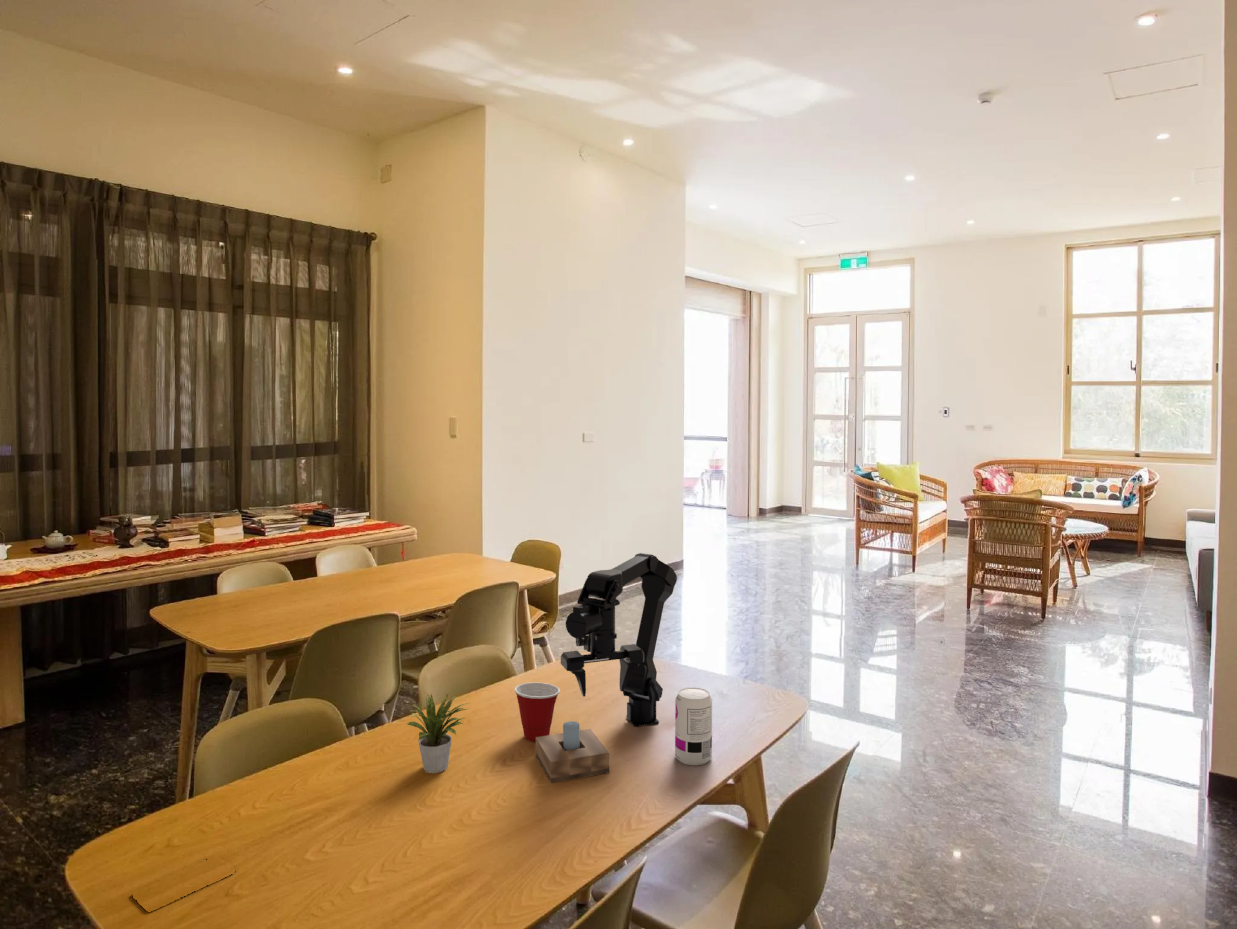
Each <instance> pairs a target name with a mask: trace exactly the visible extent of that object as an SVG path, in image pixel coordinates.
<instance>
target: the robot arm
mask: <svg viewBox="0 0 1237 929" xmlns="http://www.w3.org/2000/svg"><path fill="white" fill-rule="evenodd" d="M638 578H639V579H640V580H641V590H642V593H643V596H644V604H643V607H642V608H643V609H642V613H641V619H640V621H639V628H638V632H637V637H636V641H635V643H632V644H622V645H621V646H620V647H619V650H616V639H618V638H617V637H618V634H617V633H616V607H617V606H619V605H620V604H621V602H620V601H619V600H618V599H617V597H618V596H620V595H621V594H622V593H623V590H624V589H623V588H624V587H625V586H627V585H628V584H629V583H631V582H633V581H634V580H637V579H638ZM677 580H678V577H677V573H676V572H675V570H674V568H672V567H671V566H670V565H668V564H667V563H665V562H663V561H662V560H660V559H658V557H657V556H656V555H654V554H651V553H642V552H640V553H639V552H638V553H636V554H635V555H634V556H633V557H631V558H630V559H628V560H626V561H624V562H622V563H621V564H620V563H619V564H618V565H617V566H614V567H612V568H610V569H603V570H602V569H601V570H596V571H592V572H590V573H589V574H588V575H587V577H586V579H585V581H584V584H583V587H582V589H581V591H580V594H579V596H578V598H577V602H576V603H577V605H575V606H573V607H572V612H571V613H569V614H568V615H567V617H566V620H565V628H566V629H565V630H566V631H567V633H568V635H570V636H571V637H572V638H575V645H576V647H583V650H584V651H586V652H588V653H587V654H581V653H580V652H579V651H578V650H570V651H564V652H562V653H561V655H560V665H561V666H562V667H563V668H564V669H565V670H566V671H567V672H570V673H571V674H572V675H574V676H575V678H576V681H577V685H578V686H579V690H580V692H581V695H582V696H583V697H586V693H587V684H586V683H587V681H586V680H587V679H586V677H587V676H586V675H587V674H586V670H585V669H584V667H585V664H591V663H598V662H599V663H600V662H606V661H614V660H615V661H616V660H618V661H619V666H620V671H619V691H620V692H621V693H622V694H623V695H622V696H624V697H628V702H627V703H626V719H627V720H628V721H629V722H630V724H632V725H633V727H635V728H636V727H645V726H650V725H656V724H657V725H658V724H659V723H660V720H658V719H657V702H659V701H661V698H662V696H663V687H662V685H660V683H659V682H658V681H657V673H658V671H657V669H656V664H655V663H654V656H655V652H656V651H655V650H656V645H657V641H658V635H659V631H660V627H661V620H662V615H663V611H664V606H665V602H666V601H667V600H668V599H669V598H670V597H671V596H672V595H673V593H674V589H675V586H676V584H677Z"/></svg>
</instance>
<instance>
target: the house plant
mask: <svg viewBox="0 0 1237 929" xmlns="http://www.w3.org/2000/svg"><path fill="white" fill-rule="evenodd" d="M457 696H458V695H457V694H456V695H454V696H452V697H451V698H450V699H448V697H449V693H447V695H446V696H445V697H444V698H443V700H442V701H441V703H440V704H439V707H438V708H437V711H436V704H435V702H434V697H433V695H432V694H429V693H426V699H425V700H426V707H425V706H423V708H424V709H425V710H426V715H425V713H424V712H423V711H422V709H421V708H420V707H419V706H417V705H416V704H414V703H413V704H412V703H411V705H412V707H413V708H415V709H414V710H415V711H416V712H417V714H415V713H413V712H412V713H411V714H412V715H413V718H415V717H416V718H417V719H418V721H420V722H421V723H422V724H423V725H421V724H419V723H418V722H416V721H409V722H407V723H406V726H407V725H408V726H412V727H414V728H418V729H419V730H421V731H419V733H418V748H419V751H420V757H421V761H422V762H421V763H422V767H423V770H425V771H426V772H425V771H424V772H425V773H428V774H438V773H437V772H439V773H442V772H444V771H446V770H447V769H448V768H449V762H450V754H451V747H452V736H451V735H450V734H448V732H449V733H453V734H454V735H455V736H457V732H456V729H455V728H453V727H455V726H459V725H464V722H461V721H462V720H465V719H466V717H462V718H458V717H452V715H454V714H456V713H458V712H461V711H467V710H470V708H464V707H462V706H466V705H468V704H470V702H468V703H462V704H460V705H459V704H458V705H457V706H455V707H454V708H452V709H451V710H450V708H451V707H452V704H453V702H454V700H455V699H456V697H457ZM447 699H448V701H447ZM419 716H420V717H421V718H419ZM451 717H452V718H451ZM452 721H453V722H452ZM447 767H448V768H447ZM445 769H446V770H445ZM443 770H444V771H443ZM441 771H442V772H441Z"/></svg>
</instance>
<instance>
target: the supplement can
mask: <svg viewBox="0 0 1237 929" xmlns="http://www.w3.org/2000/svg"><path fill="white" fill-rule="evenodd" d="M674 703H675V707H674V708H675V712H674V714H675V715H674V716H675V718H674V720H675V722H674V724H675V726H674V728H675V730H674V731H675V733H674V734H675V737H674V739H675V741H674V756H675V758H676V759H677V760H678V761H679V762H680V763H682V764H684V765H687V766H688V765H689V766H700V765H701V766H702V765H705V764H707V763H709V761H710V760H711V759H712V754H713V750H712V748H713V744H712V743H713V699H712V696H711V694H710V692H709V691H708V690H706V689H704V688H701V687H685V688H682V689H680V690H678V693H677V695H676V697H675V702H674Z"/></svg>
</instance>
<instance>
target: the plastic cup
mask: <svg viewBox="0 0 1237 929" xmlns="http://www.w3.org/2000/svg"><path fill="white" fill-rule="evenodd" d="M560 692H561V689H560V688H559V687H558V686H557V685H554V684H552V683H546V682H536V681H534V682H525V683H522V684H518V685H516V686H514V693H515V695H516V699H517V703H518V709H519V714H520V722H521V726H522V730H523V736H524V739H525V740H527V741H528V742H532V743H536V737H540V736H547V735H551V734H550V732H551V727H552V726H551V725H552V722H553V718H554V717H553V716H554V710H555V704H556V701H557V698H558V695H559V694H560Z"/></svg>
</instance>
